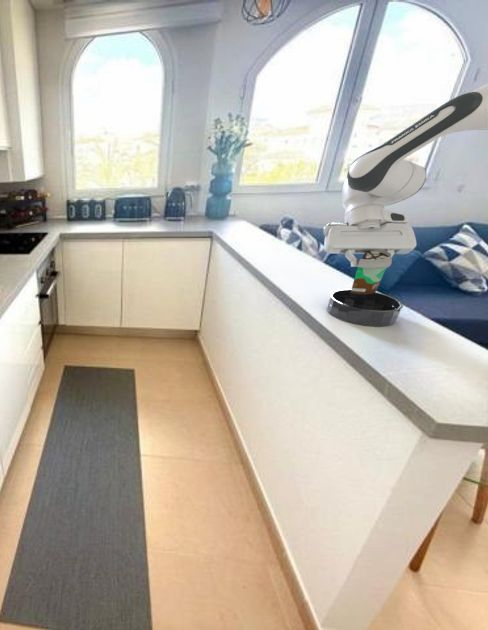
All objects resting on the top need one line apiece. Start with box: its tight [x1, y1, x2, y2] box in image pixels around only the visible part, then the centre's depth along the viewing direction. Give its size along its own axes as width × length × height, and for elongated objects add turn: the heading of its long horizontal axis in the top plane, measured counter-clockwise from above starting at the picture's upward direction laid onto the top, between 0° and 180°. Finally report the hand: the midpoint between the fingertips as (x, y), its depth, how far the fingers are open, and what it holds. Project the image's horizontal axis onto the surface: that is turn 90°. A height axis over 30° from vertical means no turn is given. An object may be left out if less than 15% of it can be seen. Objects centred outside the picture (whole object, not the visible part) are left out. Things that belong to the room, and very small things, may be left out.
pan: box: [326, 288, 404, 328], centre depth 97 cm, size 16×16×4 cm
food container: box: [350, 249, 393, 294], centre depth 92 cm, size 12×6×10 cm, turn 136°
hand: (370, 266), depth 94 cm, fingers closed on food container, 5 cm apart
